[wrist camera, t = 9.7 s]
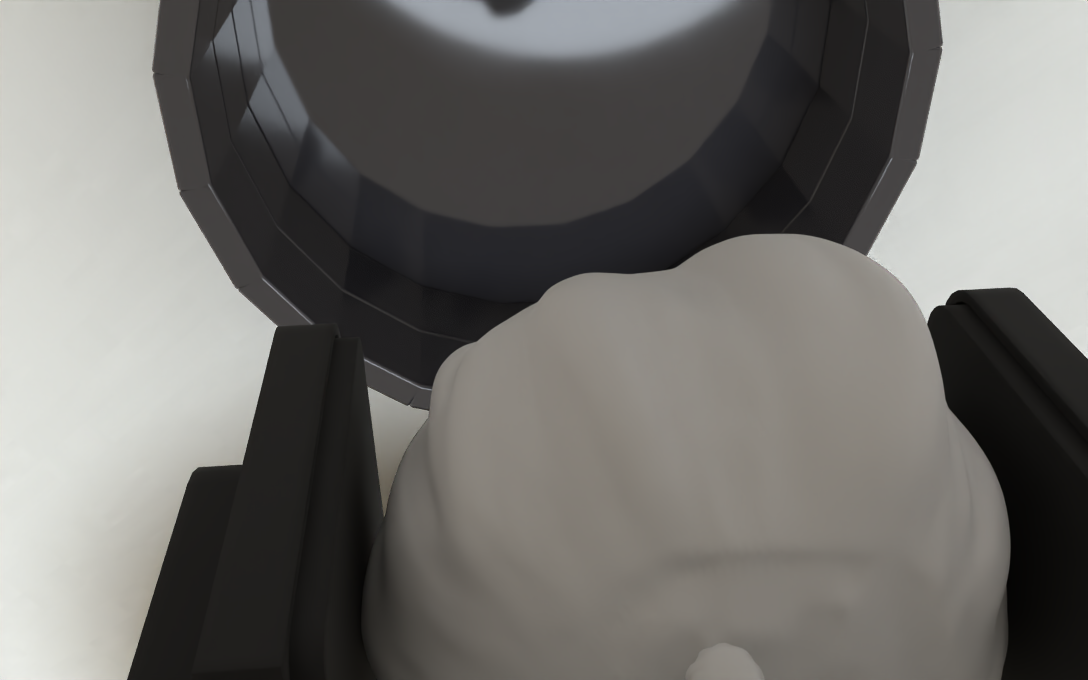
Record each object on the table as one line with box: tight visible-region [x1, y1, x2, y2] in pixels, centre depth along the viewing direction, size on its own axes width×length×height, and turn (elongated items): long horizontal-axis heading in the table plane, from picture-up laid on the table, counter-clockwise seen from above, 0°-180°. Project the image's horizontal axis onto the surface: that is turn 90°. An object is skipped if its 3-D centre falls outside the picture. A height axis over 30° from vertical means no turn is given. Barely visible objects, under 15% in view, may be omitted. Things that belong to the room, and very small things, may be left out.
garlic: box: [361, 234, 1010, 680], centre depth 8 cm, size 6×5×5 cm
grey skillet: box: [152, 0, 943, 410], centre depth 19 cm, size 13×13×4 cm
